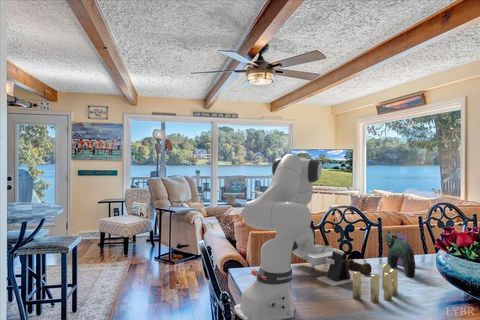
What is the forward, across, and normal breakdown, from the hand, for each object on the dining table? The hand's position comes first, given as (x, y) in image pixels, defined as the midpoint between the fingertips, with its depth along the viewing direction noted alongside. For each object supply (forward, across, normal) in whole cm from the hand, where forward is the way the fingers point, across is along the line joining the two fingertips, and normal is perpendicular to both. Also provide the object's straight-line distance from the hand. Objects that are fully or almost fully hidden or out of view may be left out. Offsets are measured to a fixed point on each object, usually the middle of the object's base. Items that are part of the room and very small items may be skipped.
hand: (339, 261), depth 144 cm
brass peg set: (+21, 0, +8) cm, 22 cm away
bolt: (-5, +18, +9) cm, 21 cm away
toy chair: (-1, +48, +8) cm, 49 cm away
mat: (-1, 0, +8) cm, 8 cm away
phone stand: (0, 0, +8) cm, 8 cm away
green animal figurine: (+7, +36, +8) cm, 38 cm away
